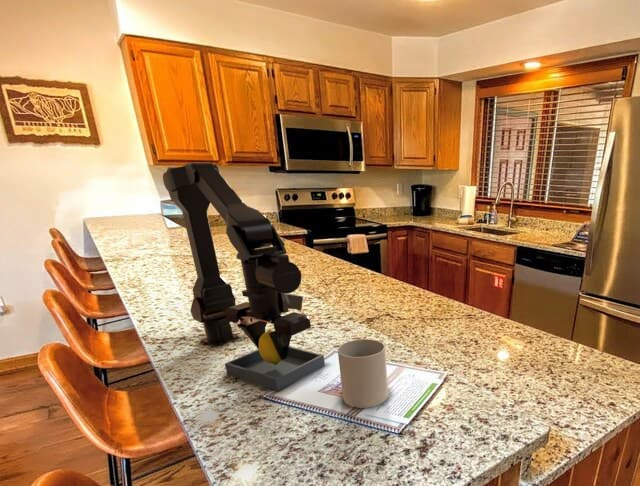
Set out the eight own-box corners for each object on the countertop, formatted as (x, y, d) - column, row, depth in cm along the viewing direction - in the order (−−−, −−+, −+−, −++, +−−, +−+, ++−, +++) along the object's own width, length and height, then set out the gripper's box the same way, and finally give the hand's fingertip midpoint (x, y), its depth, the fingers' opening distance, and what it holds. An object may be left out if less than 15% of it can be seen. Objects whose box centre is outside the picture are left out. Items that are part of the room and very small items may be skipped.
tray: (227, 374, 90) (224, 363, 89) (276, 352, 100) (274, 342, 99) (277, 391, 83) (275, 379, 82) (325, 365, 93) (323, 355, 92)
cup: (367, 412, 75) (363, 361, 71) (333, 400, 79) (327, 351, 75) (396, 392, 82) (394, 344, 78) (363, 382, 86) (359, 336, 82)
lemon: (281, 371, 88) (274, 335, 85) (256, 369, 89) (249, 333, 86) (294, 360, 93) (288, 326, 90) (271, 358, 94) (264, 324, 91)
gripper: (325, 280, 86) (333, 351, 92) (262, 270, 94) (273, 336, 101) (282, 294, 77) (295, 371, 84) (216, 281, 85) (232, 352, 92)
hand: (274, 356), depth 90 cm, fingers closed on lemon, 5 cm apart
